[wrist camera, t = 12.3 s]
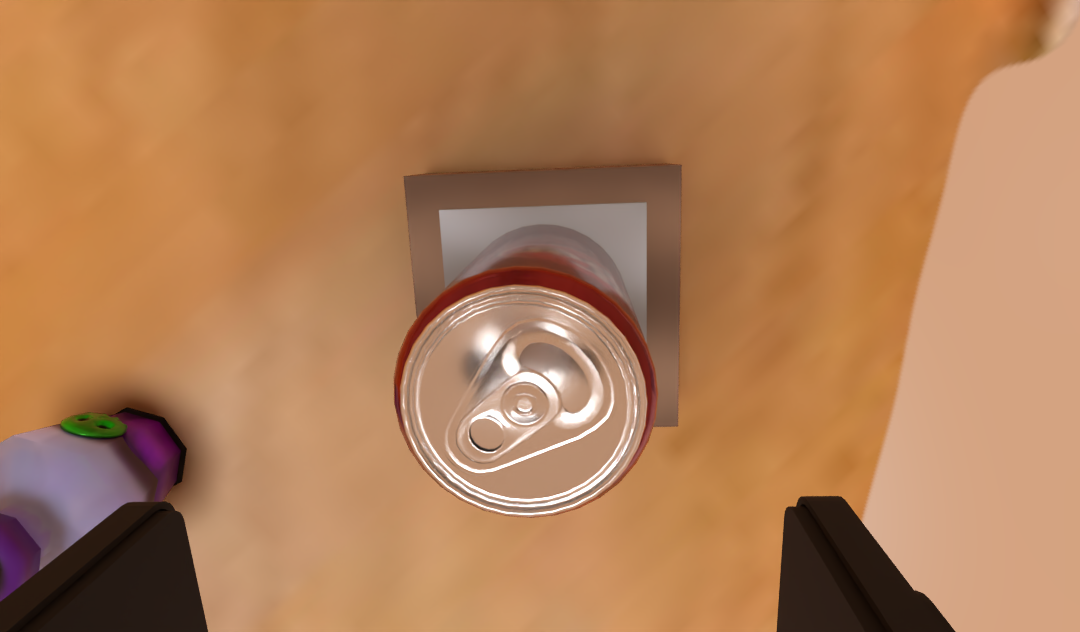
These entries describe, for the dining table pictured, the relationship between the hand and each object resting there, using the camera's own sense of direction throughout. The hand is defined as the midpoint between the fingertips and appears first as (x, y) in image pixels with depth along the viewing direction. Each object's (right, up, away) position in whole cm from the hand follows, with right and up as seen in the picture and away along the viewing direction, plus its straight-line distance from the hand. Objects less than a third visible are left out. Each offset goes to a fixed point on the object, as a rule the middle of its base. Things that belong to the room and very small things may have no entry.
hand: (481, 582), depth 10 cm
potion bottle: (-22, -4, +27) cm, 35 cm away
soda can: (+1, +5, +19) cm, 19 cm away
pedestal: (+1, +6, +23) cm, 23 cm away
